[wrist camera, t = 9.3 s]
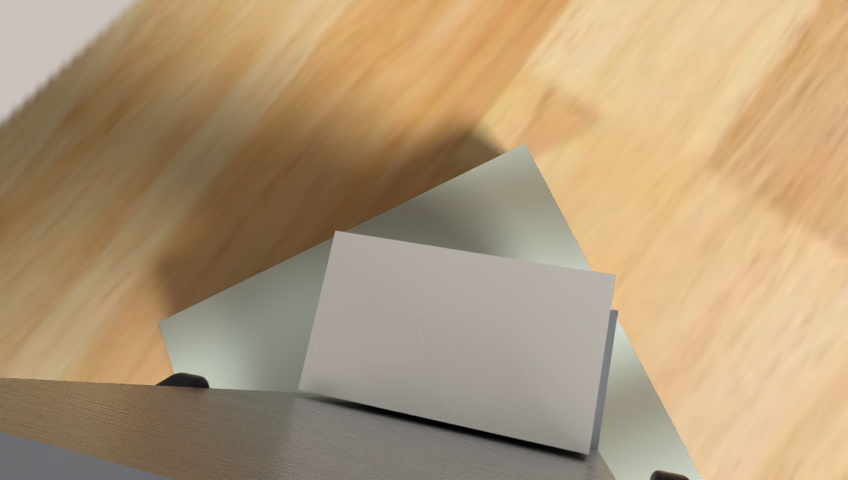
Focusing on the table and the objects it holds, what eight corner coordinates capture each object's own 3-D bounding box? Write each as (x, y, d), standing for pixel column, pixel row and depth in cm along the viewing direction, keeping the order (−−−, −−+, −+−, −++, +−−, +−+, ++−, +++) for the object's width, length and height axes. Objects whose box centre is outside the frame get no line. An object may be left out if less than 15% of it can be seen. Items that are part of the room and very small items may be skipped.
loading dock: (738, 577, 20) (770, 609, 17) (345, 744, 21) (312, 801, 18) (528, 173, 24) (525, 143, 21) (203, 330, 25) (157, 322, 22)
